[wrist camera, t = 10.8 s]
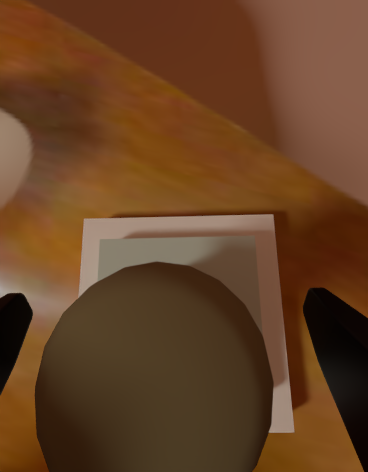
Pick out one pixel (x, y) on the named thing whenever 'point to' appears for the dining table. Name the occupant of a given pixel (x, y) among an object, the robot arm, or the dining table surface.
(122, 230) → the tower base
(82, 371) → the brown tapered knobbed post
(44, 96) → the dining table surface
